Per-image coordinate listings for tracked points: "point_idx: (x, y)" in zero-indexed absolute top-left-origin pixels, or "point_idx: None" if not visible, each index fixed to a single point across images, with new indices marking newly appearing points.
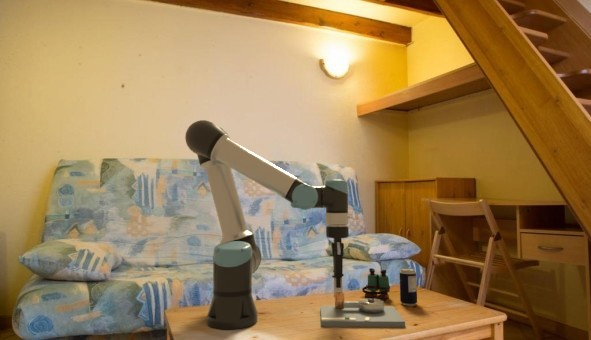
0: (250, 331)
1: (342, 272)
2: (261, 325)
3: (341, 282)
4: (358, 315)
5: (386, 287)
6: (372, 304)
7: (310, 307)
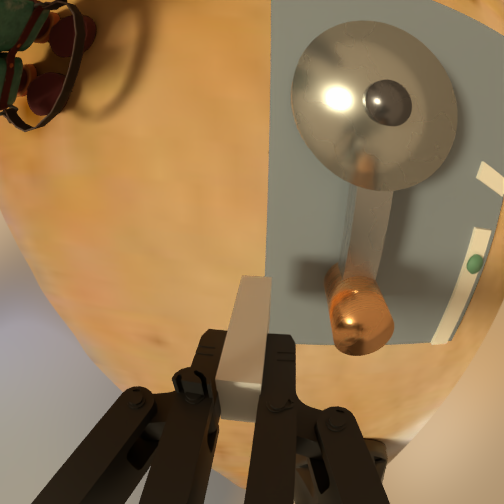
0: (405, 433)
1: (366, 446)
2: (378, 430)
3: (264, 353)
4: (441, 201)
5: (41, 2)
6: (445, 119)
7: None
